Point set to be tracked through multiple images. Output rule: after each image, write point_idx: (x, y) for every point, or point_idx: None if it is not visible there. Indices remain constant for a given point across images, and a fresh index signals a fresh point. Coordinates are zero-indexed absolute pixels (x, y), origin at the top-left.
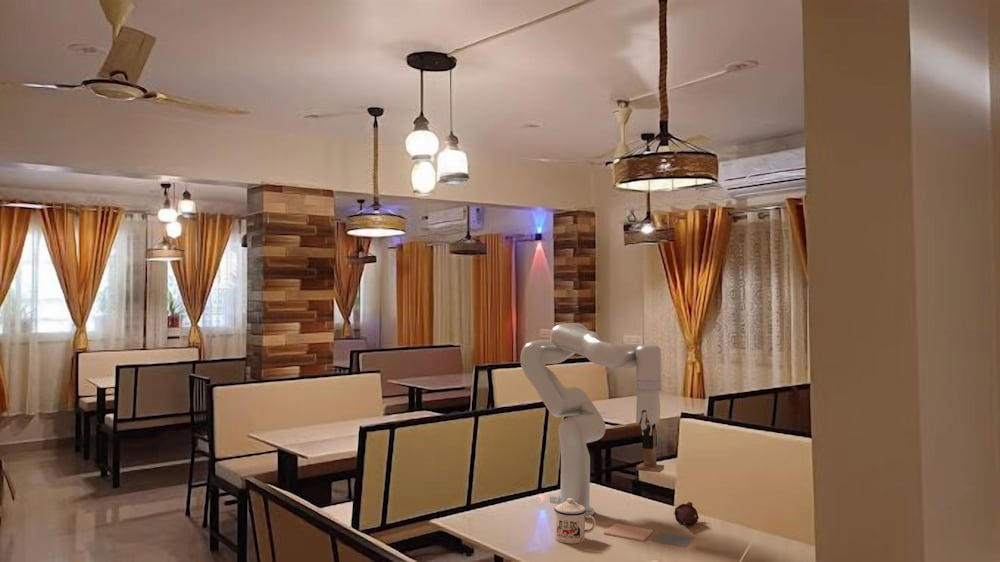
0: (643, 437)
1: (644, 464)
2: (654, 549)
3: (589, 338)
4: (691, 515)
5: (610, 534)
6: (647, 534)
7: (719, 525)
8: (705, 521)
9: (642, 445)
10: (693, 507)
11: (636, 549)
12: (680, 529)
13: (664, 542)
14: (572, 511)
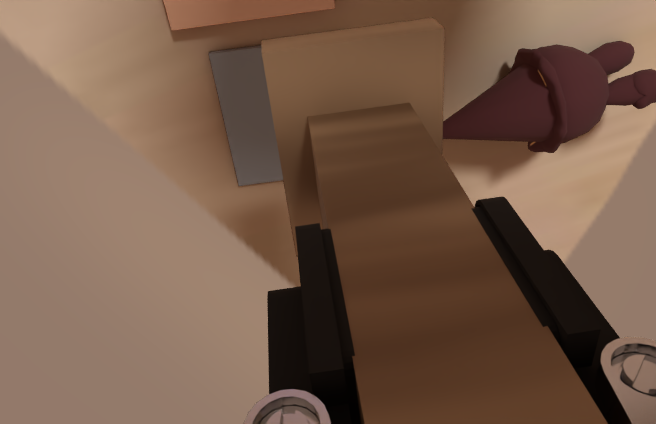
0: (306, 352)
1: (310, 129)
2: (139, 97)
3: None
4: (505, 140)
5: None
6: (254, 14)
7: (576, 178)
8: (610, 123)
9: (297, 244)
10: (557, 147)
11: (74, 37)
12: (453, 82)
13: (230, 105)
14: None
